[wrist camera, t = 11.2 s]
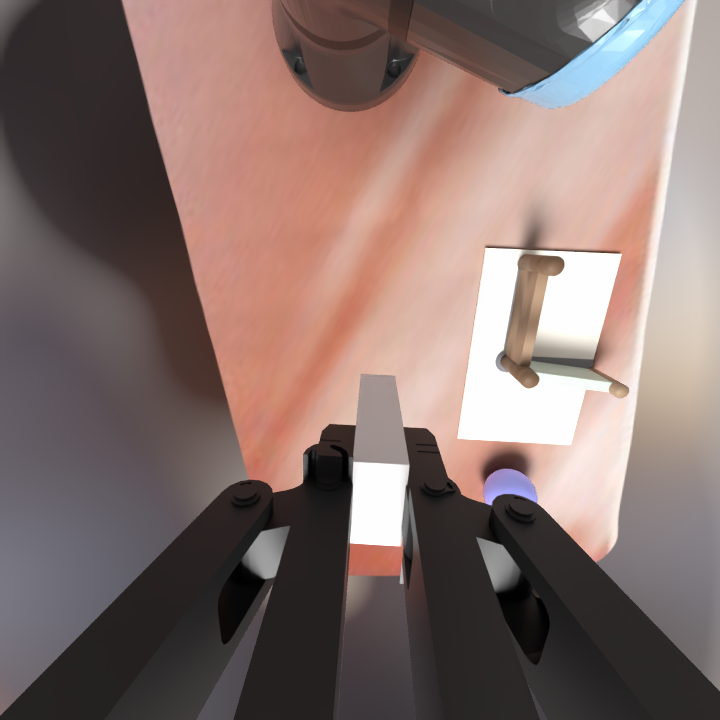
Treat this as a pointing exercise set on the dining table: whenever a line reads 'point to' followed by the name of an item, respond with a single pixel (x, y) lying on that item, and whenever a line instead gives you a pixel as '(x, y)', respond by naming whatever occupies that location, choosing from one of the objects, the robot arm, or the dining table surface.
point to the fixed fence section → (528, 315)
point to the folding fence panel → (578, 378)
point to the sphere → (508, 485)
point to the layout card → (552, 345)
